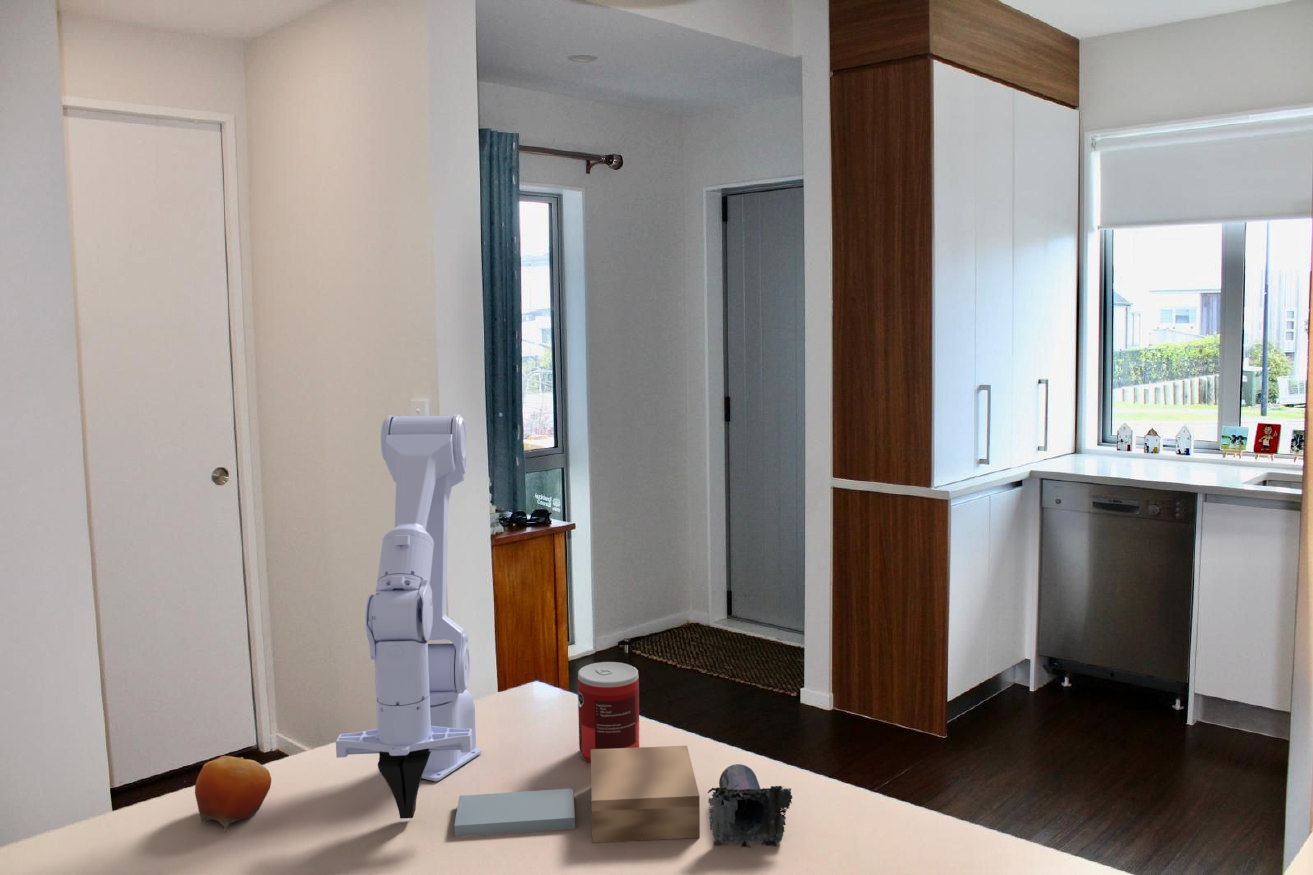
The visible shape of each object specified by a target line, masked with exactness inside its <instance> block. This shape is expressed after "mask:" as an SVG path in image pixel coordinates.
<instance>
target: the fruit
mask: <svg viewBox="0 0 1313 875" xmlns="http://www.w3.org/2000/svg"><path fill="white" fill-rule="evenodd" d="M271 785H272V776H271V773H270V771H269V769H267V767H266V766H264V765H263V764H262V763H260V762H257V761H256V760H253V759H250V758H249V759H246V758H244V757H243V756H241V757H235V756H231V755H221V756H220V757H217V758H216V759H212V760H211V761H207V762H205V763H204V764H203V765H202V768H201V770H200V772H199V774H198V775H197V778H196V781H195V787H194V794H195V795H194V796H195V800H196V805H197V809H198V814H199V816H200V820H201V823H203V822H206V821H208V820H209V821H210V820H215V821H217V822H219V823H220V825H222V826H223V832H224V833H226V832H227V828H228V827H229V825H230V824H232V823H234V822H236V821H240V820H246V819H248V818H250V817H251V816H253V815H255V814H256V813H257V812H258V811H259V810H260V808H261V807H262V804H263V802H264V801H265V800H266V797H267V795H268V793H269V791H270V789H271Z"/></svg>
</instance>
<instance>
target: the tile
mask: <svg viewBox="0 0 1313 875" xmlns="http://www.w3.org/2000/svg"><path fill="white" fill-rule="evenodd" d="M575 812H576V811H575V800H574V788H558V789H557V788H556V789H543V790H530V791H529V790H528V791H525V790H524V791H515V792H511V791H510V792H498V793H497V792H495V793H482V794H466V795H465V794H464V795H459V796H458V802H457V808H456V814H455V819H454V827H453V828H454V837H456V838H459V837H472V836H474V837H475V836H489V835H490V836H491V835H502V834H503V835H504V834H517V833H533V832H545V831H546V832H548V831H560V830H575V829H576V815H575Z"/></svg>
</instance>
